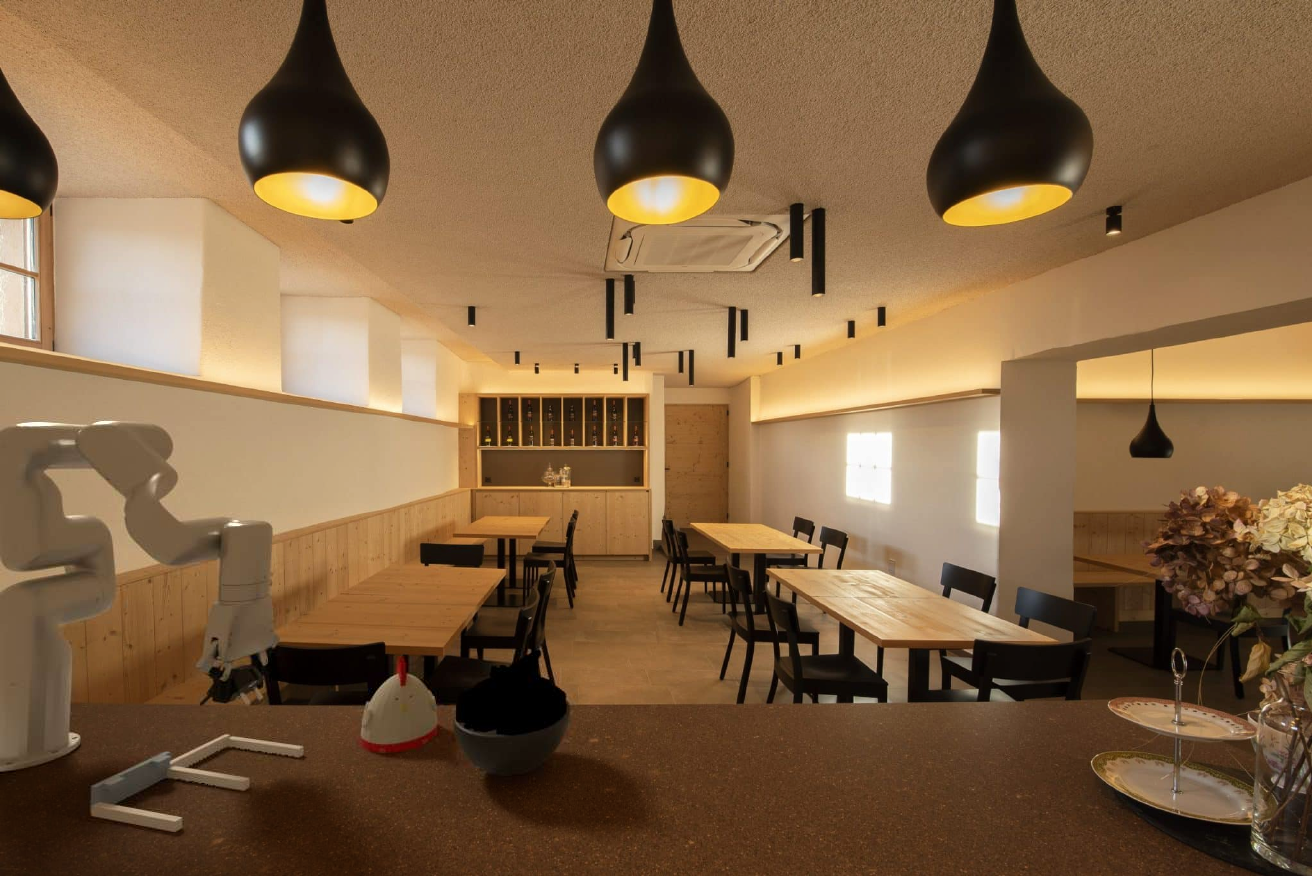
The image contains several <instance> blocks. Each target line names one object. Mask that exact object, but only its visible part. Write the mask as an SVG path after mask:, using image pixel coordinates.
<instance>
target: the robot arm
mask: <svg viewBox="0 0 1312 876" xmlns="http://www.w3.org/2000/svg"><path fill="white" fill-rule="evenodd" d="M173 450H174V443H173V439H172V437H171V435H170V434H169V433H168V432H167V431H166V430H165V429H164V428H163V427H161V426H159V425H156V424H154V423H149V422H140V421H139V422H137V421H136V422H135V421H123V420H122V421H121V420H103V421H98V422H93V423H90V424H75V423H74V424H71V423H60V422H57V423H56V422H24V423H23V422H22V423H17V424H12V425H9V426H7V427H4V428H3V429H1V430H0V562H1V564H2V566H3V567H5V569H7V570H9V571H12V572H15V573H16V572H17V573H25V572H26V573H28V572H30V573H31V572H38V571H43V570H49V569H55V568H61V567H62V568H63V567H64V573H61V574H53V575H48V576H47V575H46V576H42V577H37V578H31V579H26V580H22V581H20V582H19V581H18V582H16V583H14V584H11V585H9V586H7V587H5V588H4V589H2V590H1V591H0V772H10V771H18V770H22V769H27V768H31V767H35V766H38V765H39V766H40V765H41V764H45V763H48V762H51V761H53V760H56V759H59V758H61V757H63V756H65V755H68V754H69V753H71V752H73V751H74V750H75V749H77V748H79V747H78V746H80V744H81V735H79V734H78V733H75V732H70V722H71V721H70V719H71V718H70V717H71V701H72V700H71V695H72V694H71V693H72V675H73V673H72V672H73V671H72V670H73V649H72V646H71V644H70V641H69V640H68V639H67V638H66V636H65V635H64V634H63V632H62V631H61V630H60V627H63V626H66V625H70V624H73V623H77V622H82V621H85V620H88V619H91V618H95V617H98V616H101V615H102V614H104V613H105V612H107V611H108V610H109V609H110V608H111V607H112V605H113V603H114V601H115V599H116V595H117V579H116V567H115V565H116V564H115V554H114V544H113V543H114V541H113V537H112V534H111V531H110V529H109V527H108V526H107V525H106V523H105V522H103V520H101V519H100V518H97V517H96V516H93V515H89V514H88V515H87V514H76V515H75V514H73V515H65V513H64V512H65V511H64V507H63V496H62V495H63V494H62V492H61V490H60V488H59V486H58V485H57V484H56V483H55V481H54V480H53V479H52V478H51V477H50V476H49V475H48V474H47V473H45V471H47V470H74V469H75V470H77V469H80V470H82V469H93V470H95V472H97V474H99V476H101V478H103V480H105V481H106V483H108V484H109V485H110V486H111V487H112V488H113V489H114V490H115V491H116V492H117V493H118V494H119V495H120V496H121V497H122V498H123V499H124V500H125V503H124V505H123V506H124V507H123V517H124V524H125V527H126V530H127V533H128V535H129V536H130V538H132V540H133V541H134V542H135V543H136V544H137V545H138V546H139V547H140V548H141V549H142V550H143V551H144V552H145V553H146V554H147V555H148V556H150V557H151V558H152V559H153V560H155V561H157V562H158V563H160V564H162V565H165V566H168V567H183V566H187V565H192V564H196V563H201V562H207V561H214V560H218V559H219V569H218V570H219V571H218V586H217V587H218V588H217V589H218V590H217V601H216V602H213V603H212V605H211V608H210V611H209V615H208V619H207V624H206V629H205V634H204V642H203V653H202V656H201V657H200V658H199V659H198V661H197V663H195V667H196V669H198V670H200V671H202V672H203V673H204V674H205V675H207V676H208V677H209V679H210V680H213V681H212V685H213V693H212V697H211V699H212V702H213V703H218V704H219V703H220V704H228V703H230V702H231V701H230V700H231V683H232V680H231V679H228V677H229V674H230V671H231V668H232V667H233V665H234V662H235V661H239V660H241V659H244V658H247V657H248V659H249V663H250V664H248V665H254V666H256V667H257V669H258V670H259V672H260V673H261V675H262V676H263V678H264V677H265V675H264V674H265V666H267V664H268V662H269V660H268V659H269V658H270V656H271V654H273V652H274V650H275V648H276V646H277V645H278V644H279V642H280V640H281V639H280V637H279V635H277V633H275V632H274V631H275V630H274V626H275V625H274V623H275V622H274V621H275V620H274V619H275V618H274V607H273V599H272V595H270V589H271V588H270V587H272V585H273V580H272V579H271V569H272V567H271V566H272V552H273V551H272V550H273V535H274V534H273V533H274V532H273V530H274V529H273V526H272V524H271V523H270V522H268V521H265V520H254V519H253V520H241V519H240V520H239V519H235V518H232V517H227V516H225V517H224V516H216V517H207V518H197V519H196V518H195V519H188V520H183V521H182V520H181V521H180V520H178V518H176V517H175V516H174V515H173V514H172V513H170V512H169V510H167V509H166V507H165V506H164V505H163V504H162V503H161V501H160V500H162V499H164V498H165V497H166V496H168V494H170V492H172V490H174V488H175V487H176V485H177V483H178V481H179V475H178V472H177V470H176V469H175V468H173V466H172V465H170V464H169V463H168V462H167V461H168V460H169V458H170V457H171V456H172V454H173ZM212 662H213V663H212ZM222 665H223V667H222ZM264 679H265V678H264ZM257 688H258V690H261V689H263V688H264V680H263V681H262V683H261V684H260V685H259V686H257Z"/></svg>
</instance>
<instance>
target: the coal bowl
mask: <svg viewBox="0 0 1312 876" xmlns="http://www.w3.org/2000/svg"><path fill="white" fill-rule="evenodd" d="M541 657H542V651H541V650H540V649H536V650H534V651H531V652H530V653H527V654H526V655H525V656H523V657H520V658H519V659H518V660H517V662H513V663H511V664H510V665H509V666H507V665H505V664H500V665H499V666H497V665H496V666H495V665H492V666H491V668H490V673H489V676H490V677H488V678H486V679H484V680H480V681H479V682H477V683H476V685H474V686H473V687H472V688H470V689H469V690H467V691H462V692H461V695H460V696H459V699H458V701H457V702H456V704H455V713H454V714H453V730H454V731H453V732H454V734H455V738H456V742H457V744H458V745H459V748H460V750H461V752H462V753H463V754H464V756H465V757H466V758H467V759H468V761H469V762H471V763H472V764H473V765H474V766H475V767H476V768H479V769H480V770H481V771H483V772H486V773H488V774H491V775H496V776H501V777H503V776H504V777H508V776H518V775H522V774H525V773H527V772H530V771H532V770H534V769H535V768H537V767H539V766H540V765H542V764H544V762H546V761H547V760H548V759H549V758H550V757H551V756H553V754H554V753H555V751H556V750H557V749H558V748H559V747H560V744H561V743H562V741H563V739H564V737H565V734H566V732H567V730H568V727H569V723H570V717H571V710H572V709H571V704H570V703H569V701H568V700H567V694H566V692H565V691H564V690H563V689H562V688H560V687H559V686H558V685H555V684H552V681H551V679H549V678H545V677H543V676H541V675H540V674H539V668H540V664H539V659H540V658H541Z"/></svg>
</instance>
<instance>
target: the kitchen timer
mask: <svg viewBox="0 0 1312 876" xmlns="http://www.w3.org/2000/svg"><path fill="white" fill-rule="evenodd" d="M395 665H396V667H395V670H396V674H394V675H393V676H391V677H389V678H387V680H386V681H384V682H383V683H382V684H381V685H380V686H379V688H378V689H377V690H376V691H375V693H374V695H372V698H371V699H370V701H366V703H365V707H364V710H363V716H362V719H361V729H360V737H359V738H360V739H359V740H360V741H359V742H360V743H359V744H360V746H361V747H362V748H363V749H364V748H365V749H364V750H366V749H367V750H366V751H369V752H372V751H373V752H372V753H378V754H380V753H381V754H388V753H389V754H391V753H399V752H398V751H400V752H403V751H408V749H409V750H413V749H415V748H418V747H420V746H423V745H424V744H426V743H429V742H430V741H431V740H432V739H433V738H435V737H436V735H437V734H438V731H439V730H438V729H439V727H438V726H439V725H438V724H439V723H438V715H437V714H438V713H437V711H438V709H437V702H436V697H435V695H433V693H432V691H431V690H429V689H428V687H427V686H426V685H425V684H424V683H423V682H422V681H421V680H420V679H419V678H417V677H416V676H414V675H413V674H409V673H408V672H407V663H406V662H405V657H404V656H398V660H397V663H395ZM414 747H415V748H414Z"/></svg>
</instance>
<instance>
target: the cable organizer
mask: <svg viewBox="0 0 1312 876" xmlns="http://www.w3.org/2000/svg"><path fill="white" fill-rule="evenodd" d="M225 747H226V748H232V747H236V748H235V749H238V748H240V749H239V750H245V749H247V751H252V750H253V751H252V752H258V751H262V752H261V753H265V752H267V753H266V754H272V753H277V754H276V755H279V754H281V755H280V756H285V755H288V757H292V756H294V757H293V758H300V757H302V756H303V755H304V746H302V745H296V744H289V743H283V742H282V743H281V742H274V741H267V740H261V739H254V738H246V737H240V736H234V735H232V736H231V734H226V733H225V734H223V735H221V736H219V737H217V738H215V739H212V740H211V741H208V742H206V743H205V744H202V745H200V746H198V747H195V748H194V749H192V750H190V751H188V752H186V753H184V754H181V755H180V756H177V757H176V758H174V759H172V755H171V752H170V751H163V752H162V753H159V754H157V755H155V756H153V757H150V758H149V759H147V760H144V761H142V762H140V763H137V764H135V765H134V766H131V767H130V768H127V769H125V770H122V771H121V772H119V773H117V774H114V775H112V776H110V777H108V778H106V779H103V780H101V781H99V782H97V783H95V784H92V785H91V787H90V806H89V807H90V808H89V809H90V811H89V812H90V814H91V815H90V816H91V817H94V818H95V817H96V818H100V819H107V820H111V821H116V822H120V823H121V822H122V823H127V824H132V825H137V826H143V827H148V828H152V829H157V830H158V829H159V830H162V831H168V832H173V833H176V832H178V831H179V830H181V829H183V816H182V817H181V816H177V815H171V814H166V813H159V812H154V811H149V810H143V809H141V808H140V809H138V808H133V807H128V806H122V805H118V803H120V802H122V801H123V800H126V799H127V797H128V798H129V797H131V796H134V795H135V794H137V793H139V792H141V791H143V790H145V789H147V788H149V787H151V786H153V785H155V784H157V783H159V782H161V781H163V780H165V779H166V778H167V779H171V778H173V780H177V779H182V780H181V781H183V780H185V781H184V782H189V781H194V782H193V783H195V782H198V783H197V784H201V783H205V784H204V785H207V784H208V785H209V786H213V785H215V787H219V788H224V789H232V790H236V791H237V790H238V791H242V792H243V791H246V790H247V789H249V788H250V780H251V779H250V777H245V776H239V775H233V774H228V773H227V774H226V773H221V772H214V771H207V770H201V769H197V768H196V769H195V768H189V767H190V766H192V765H194V764H196V763H198V762H200V761H202V760H204V759H206V758H208V757H210V756H212V755H214V754H216V753H217V752H216V751H218V752H220V751H221V750H220V749H222V750H224V749H225ZM223 748H224V749H223ZM248 749H250V750H248ZM215 752H216V753H215ZM213 753H214V754H213ZM211 754H212V755H211ZM209 755H210V756H209ZM207 756H208V757H207ZM203 758H204V759H203ZM199 760H200V761H199ZM193 763H194V764H193ZM189 765H190V766H189ZM186 767H187V768H186ZM164 778H165V779H164ZM162 779H163V780H162ZM160 780H161V781H160ZM158 781H159V782H158ZM154 783H155V784H154ZM150 785H151V786H150Z"/></svg>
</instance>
